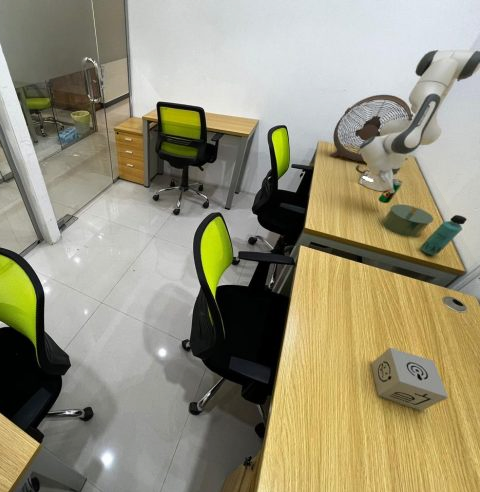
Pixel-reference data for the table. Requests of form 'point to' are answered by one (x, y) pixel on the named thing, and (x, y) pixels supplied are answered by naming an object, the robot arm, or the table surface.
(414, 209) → the lid
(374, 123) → the fan
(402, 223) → the pot
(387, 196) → the soda can
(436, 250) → the beverage bottle
